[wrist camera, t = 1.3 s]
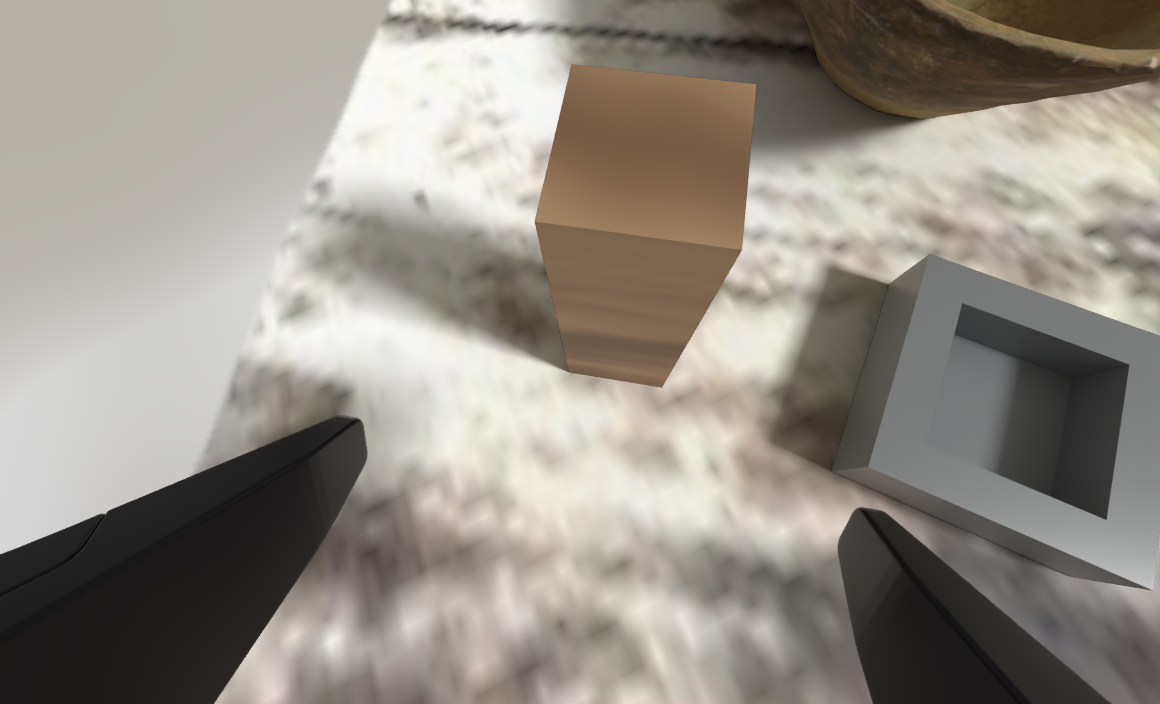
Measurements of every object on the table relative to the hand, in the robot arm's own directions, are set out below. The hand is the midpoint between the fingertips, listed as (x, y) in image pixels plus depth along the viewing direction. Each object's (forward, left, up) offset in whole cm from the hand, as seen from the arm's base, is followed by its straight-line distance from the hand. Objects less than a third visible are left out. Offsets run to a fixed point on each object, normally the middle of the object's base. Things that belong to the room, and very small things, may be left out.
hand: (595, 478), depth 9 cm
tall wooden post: (+7, +2, -13) cm, 15 cm away
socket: (+10, -14, -13) cm, 22 cm away
